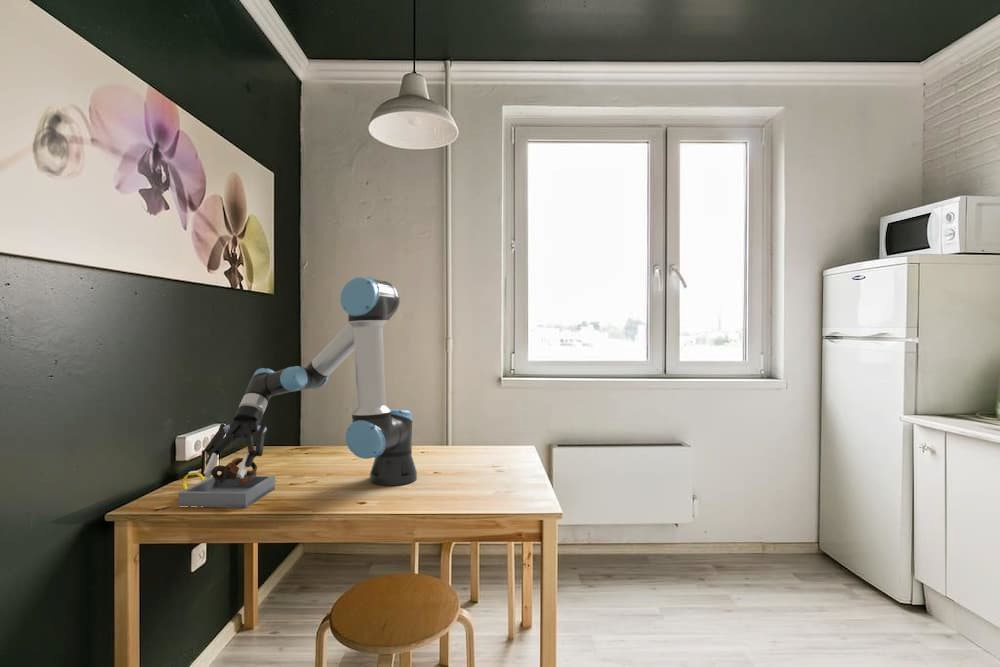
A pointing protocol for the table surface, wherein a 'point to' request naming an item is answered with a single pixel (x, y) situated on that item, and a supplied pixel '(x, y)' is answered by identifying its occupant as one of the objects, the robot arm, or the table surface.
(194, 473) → the watch
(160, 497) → the table surface
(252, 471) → the broken clay jug
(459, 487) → the table surface
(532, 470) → the table surface
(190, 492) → the tray
